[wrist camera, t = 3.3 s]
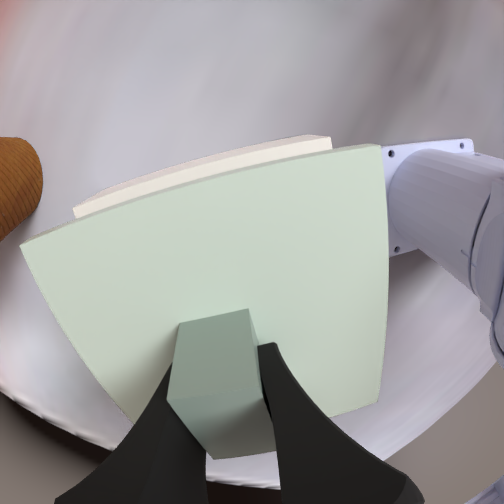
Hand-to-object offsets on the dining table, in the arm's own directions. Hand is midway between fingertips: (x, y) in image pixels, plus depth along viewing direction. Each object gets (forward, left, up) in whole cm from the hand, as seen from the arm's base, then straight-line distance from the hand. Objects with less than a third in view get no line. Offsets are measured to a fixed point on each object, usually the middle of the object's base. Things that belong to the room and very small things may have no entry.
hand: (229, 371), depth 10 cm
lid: (0, 0, -2) cm, 2 cm away
